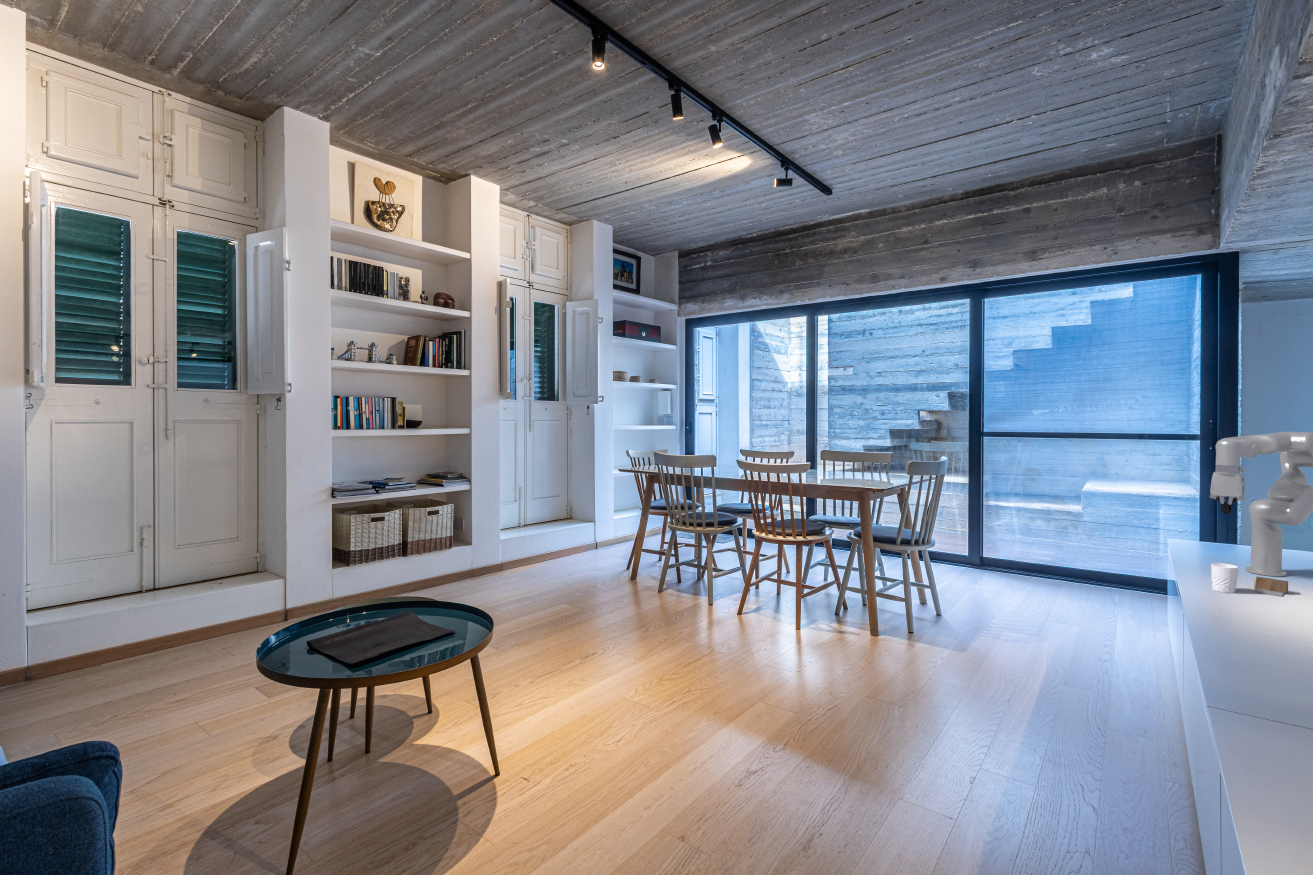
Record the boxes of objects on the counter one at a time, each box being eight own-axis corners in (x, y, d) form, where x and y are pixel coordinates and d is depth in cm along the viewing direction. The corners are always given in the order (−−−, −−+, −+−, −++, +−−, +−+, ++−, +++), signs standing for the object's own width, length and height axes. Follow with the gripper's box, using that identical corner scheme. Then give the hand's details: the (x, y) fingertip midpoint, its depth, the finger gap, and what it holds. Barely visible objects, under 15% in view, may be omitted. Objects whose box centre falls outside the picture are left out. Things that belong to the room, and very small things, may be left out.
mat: (1260, 585, 248) (1260, 584, 248) (1286, 589, 242) (1286, 588, 242) (1254, 592, 239) (1254, 591, 239) (1281, 596, 233) (1281, 595, 233)
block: (1256, 576, 245) (1288, 581, 238) (1255, 586, 245) (1287, 591, 238) (1254, 578, 243) (1286, 582, 236) (1253, 588, 243) (1286, 593, 236)
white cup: (1226, 587, 245) (1227, 562, 245) (1243, 593, 237) (1243, 568, 237) (1204, 587, 246) (1205, 562, 245) (1220, 593, 238) (1221, 567, 237)
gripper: (1253, 470, 254) (1252, 514, 255) (1205, 467, 266) (1204, 510, 267) (1250, 471, 250) (1249, 516, 251) (1202, 469, 261) (1200, 512, 262)
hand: (1226, 513), depth 259 cm, fingers closed
